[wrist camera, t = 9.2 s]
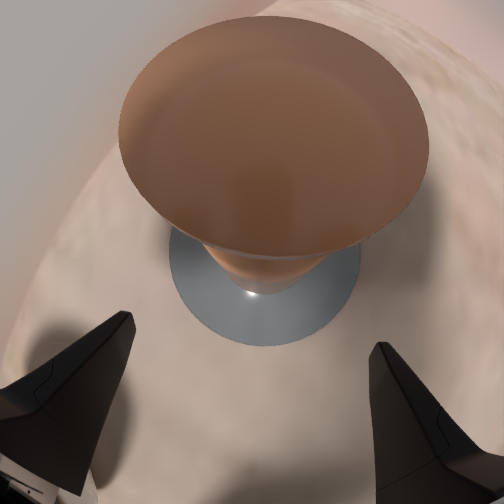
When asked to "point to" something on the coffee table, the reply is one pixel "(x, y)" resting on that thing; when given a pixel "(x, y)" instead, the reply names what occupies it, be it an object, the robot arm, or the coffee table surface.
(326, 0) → the coffee table surface
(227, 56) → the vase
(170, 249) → the coaster
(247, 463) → the coffee table surface
